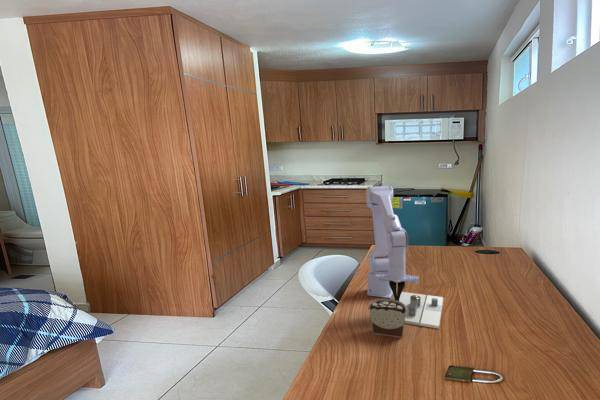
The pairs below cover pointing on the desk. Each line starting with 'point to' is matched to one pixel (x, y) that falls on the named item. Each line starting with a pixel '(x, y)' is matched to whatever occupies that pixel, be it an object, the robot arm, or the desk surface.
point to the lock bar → (414, 304)
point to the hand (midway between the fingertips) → (396, 301)
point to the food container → (387, 317)
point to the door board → (423, 310)
